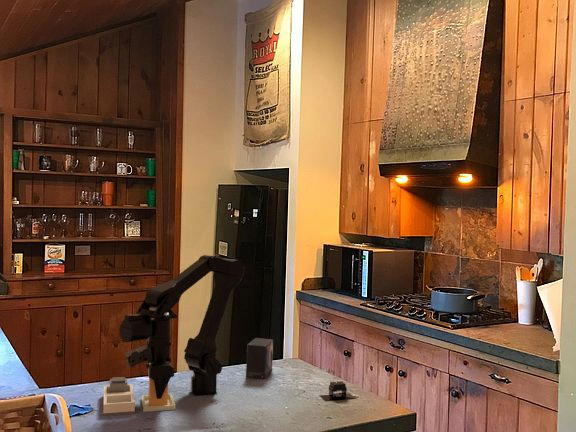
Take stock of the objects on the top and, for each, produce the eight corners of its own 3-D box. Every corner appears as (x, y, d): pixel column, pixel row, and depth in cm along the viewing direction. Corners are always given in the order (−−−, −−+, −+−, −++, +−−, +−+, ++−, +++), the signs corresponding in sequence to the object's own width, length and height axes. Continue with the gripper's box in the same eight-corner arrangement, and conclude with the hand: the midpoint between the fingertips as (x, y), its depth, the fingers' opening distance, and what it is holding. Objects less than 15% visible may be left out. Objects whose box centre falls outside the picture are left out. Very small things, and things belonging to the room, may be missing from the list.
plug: (165, 400, 163) (166, 371, 163) (167, 406, 159) (168, 375, 159) (148, 402, 162) (149, 372, 162) (149, 407, 157) (150, 376, 157)
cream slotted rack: (132, 396, 168) (132, 374, 168) (134, 415, 153) (134, 391, 153) (103, 398, 166) (104, 375, 166) (103, 418, 151) (103, 393, 150)
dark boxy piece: (352, 393, 177) (353, 378, 177) (363, 401, 170) (363, 385, 170) (312, 396, 173) (312, 380, 173) (321, 404, 166) (321, 388, 166)
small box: (265, 379, 187) (266, 345, 187) (245, 378, 188) (245, 344, 188) (273, 370, 197) (274, 338, 197) (253, 369, 199) (254, 337, 199)
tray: (171, 399, 166) (171, 393, 166) (175, 411, 157) (175, 405, 157) (141, 401, 164) (141, 395, 164) (143, 413, 154) (143, 407, 154)
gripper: (126, 330, 167) (125, 387, 167) (128, 346, 149) (127, 409, 149) (167, 329, 170) (166, 384, 170) (175, 344, 152) (173, 406, 152)
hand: (158, 395), depth 160 cm, fingers closed on plug, 4 cm apart
